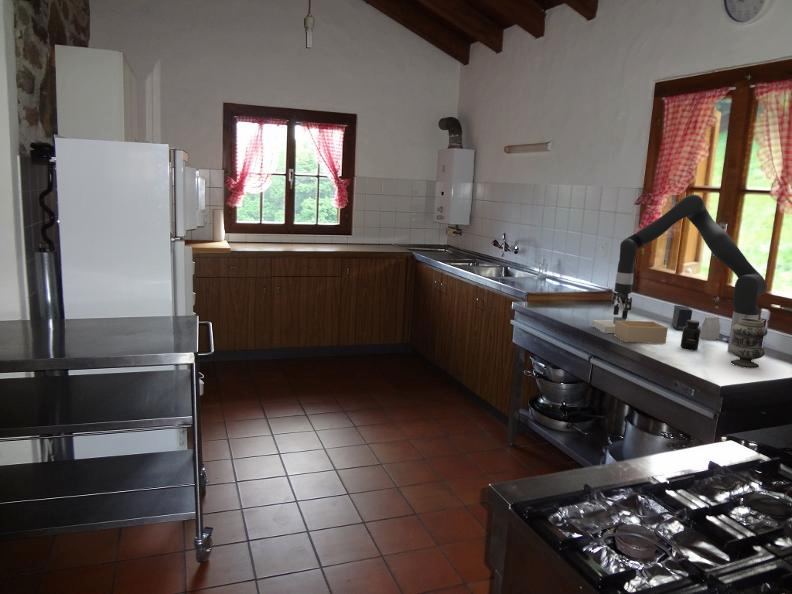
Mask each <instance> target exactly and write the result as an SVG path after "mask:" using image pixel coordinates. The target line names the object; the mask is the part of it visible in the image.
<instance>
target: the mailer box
mask: <svg viewBox="0 0 792 594" xmlns="http://www.w3.org/2000/svg"><path fill="white" fill-rule="evenodd" d="M614 335H616V336H617V337H619V338H621V339H623V340H625V341H627V342H642V343H641V344H666V343H667V337H668V327H667V326H665V325H662V324H660V323H658V322H656V321H652V320H651V321H649V320H647V321H646V320H626V321H617V320H616V322H615V330H614V334H613V336H614ZM616 336H615V337H616ZM617 337H616V338H617ZM619 338H618V339H619ZM621 339H620V340H621ZM623 340H622V341H623ZM625 341H624V342H625ZM627 342H626V343H627Z"/></svg>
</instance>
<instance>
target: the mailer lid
mask: <svg viewBox="0 0 792 594" xmlns="http://www.w3.org/2000/svg"><path fill="white" fill-rule="evenodd" d="M616 320H617V321H627V319H623V318H622V316H614V317H613V320H612V319H611V320H606V319H603V320H601V319H592V325H593V326H595V327H596V328H598V329H600V330H601V331H603V332H605V333H614V330H615V322H616ZM601 331H600V332H601ZM603 332H602V333H603Z"/></svg>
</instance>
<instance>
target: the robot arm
mask: <svg viewBox="0 0 792 594" xmlns="http://www.w3.org/2000/svg"><path fill="white" fill-rule="evenodd" d="M684 218H687V219H688V221H690V222H691V224H692V225H693V226H694V227H695V228H696V229H697V231H698V232H699V234H700V235H701V238H702V239H703V241H704V243H705V244H706V246H707V247H708V249H709V250H710V252H711V253H712V254H713V255H714V257H715V258H716V259H717V260H718V261H719V262H720V263H721V264H723V265H724V266H726V267H727V268H729V269H730V270H731V272H733V273H734V274H735V276H736V277H737V279H736V282H735V284H734V288H733V296H732V306H733V312H732V317H731V318H732V319H731V324H730V330H729V337H728V344H727V351H726V352H728V353H729V354H732V353H731V352H730V350H729V347H730V346H731V345H732V344H734V339H735V332H734V330H733V326H734V325H735V324H736V323H738V321H739V318H751V319H757V320H759V314H760V307H758V305H757V303H758V297H760V296H762V295H763V294H764V293H765V292H766V290H767V286H768V285H767V281H766V280H765V278H764V277H763V275H761V273H759V272H758V270H757V269H755V267H754V266H753V265H752V264H751V263H750V262H749V260H748V259H747V257H746V256H745V255H744V254H743V252H742V251H741V250H740V248H739V247H738V245H737V244H736V242H734V239H732V237H731V236H730V235H729V234H728V232H727V231H726V230H725V229H724V228H723V227H722V226H721V225H719V224H718V223H717V222H716V221H715V220H714V219H713V218H712V216H711V214H710V212H709V211H708V209H707V207H706V204H705V201H704V200H703V198H702V196H700V195H699V194H694V193H692V194H689V195H687V196H685V197H684V198H682V199H681V200H680V201H679V202H678V203H677V204H675V205H674V206H673V207H672V208H671V209H670V210H668V211H667V212H665V213H664V214H663V215H661V216H660V217H658V218H657V219H655V220H654V221H652V222H651V223H649V224H647V225H646V226H645V227H643V228H642V229H640V230H639V231H638V232H636V233H634V234H631V235H629V236H628V237H626V238H625V239H624V240H622V241H621V242H620V245H619V261H618V264H617V270H616V272H617V273H616V276H615V282H614V283H615V284H614V291H613V292H612V300H611V305H613V315H615V316H619V311H620V306H621V308H622V310H621V311H622V312H621V317H622V318H623V319H626V320H627V319H628V314H629V311H631V310H632V302H633V297H632V296H630V297H629V295H630V294H631V293H633V285H634V271H635V260H636V254H637V250H638V249H640V248H642V247H643V246H645V245H647V244H650V243H652V242H653V241H655V240H656V239H657V238H659V237H661V236H662V235H664V234H665V233H666V232H667V231H668V230H669V229H670V228H671V227H672V226H674V224H677V223H678V222H679V221H680V220H681V221H682V220H683V219H684Z"/></svg>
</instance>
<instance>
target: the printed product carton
mask: <svg viewBox="0 0 792 594" xmlns="http://www.w3.org/2000/svg"><path fill="white" fill-rule="evenodd" d="M700 330H701V333H700V339H702V340H705V341H716V340H715V339H718V338H719V339H720V332H721V323H720V317H713V316H712V317H710V316H709V317H706V316H705V318H704V320H703V323H702V324H701V328H700Z"/></svg>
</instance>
